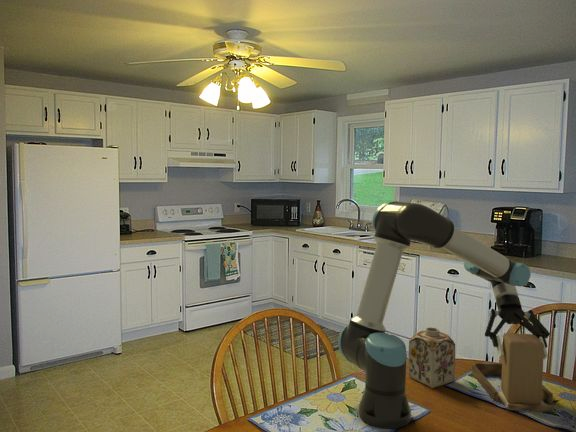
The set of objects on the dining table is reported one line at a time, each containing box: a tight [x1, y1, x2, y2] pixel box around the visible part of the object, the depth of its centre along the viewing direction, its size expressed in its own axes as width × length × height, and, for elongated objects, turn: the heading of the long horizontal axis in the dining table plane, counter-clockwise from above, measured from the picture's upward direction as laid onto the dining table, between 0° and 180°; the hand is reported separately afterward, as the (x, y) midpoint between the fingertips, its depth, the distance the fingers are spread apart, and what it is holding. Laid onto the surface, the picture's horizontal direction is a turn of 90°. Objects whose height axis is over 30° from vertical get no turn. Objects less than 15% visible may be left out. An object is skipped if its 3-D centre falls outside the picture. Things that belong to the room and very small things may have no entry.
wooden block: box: [500, 332, 544, 405], centre depth 153 cm, size 10×10×20 cm
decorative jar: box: [407, 326, 456, 389], centre depth 169 cm, size 12×12×18 cm
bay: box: [471, 362, 554, 413], centre depth 160 cm, size 18×28×4 cm, turn 176°
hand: (523, 356), depth 154 cm, fingers open, 13 cm apart
